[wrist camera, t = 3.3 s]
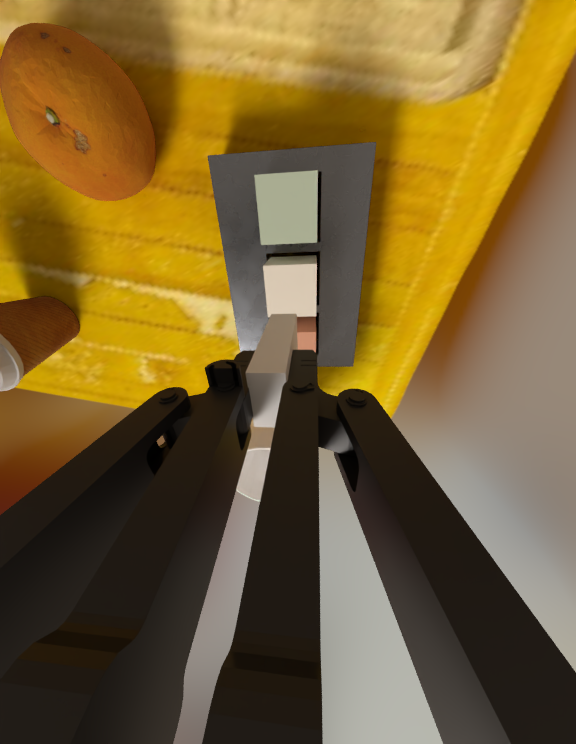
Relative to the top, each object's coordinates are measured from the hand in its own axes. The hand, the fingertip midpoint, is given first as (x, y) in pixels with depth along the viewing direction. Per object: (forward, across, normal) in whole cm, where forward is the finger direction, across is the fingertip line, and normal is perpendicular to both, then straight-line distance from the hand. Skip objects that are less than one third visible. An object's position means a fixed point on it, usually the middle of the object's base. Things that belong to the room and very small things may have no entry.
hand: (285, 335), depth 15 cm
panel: (+17, 0, 0) cm, 17 cm away
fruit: (+17, -18, +13) cm, 28 cm away
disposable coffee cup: (+17, -34, -5) cm, 39 cm away
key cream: (+14, 0, 0) cm, 14 cm away
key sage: (+14, 0, +7) cm, 15 cm away
